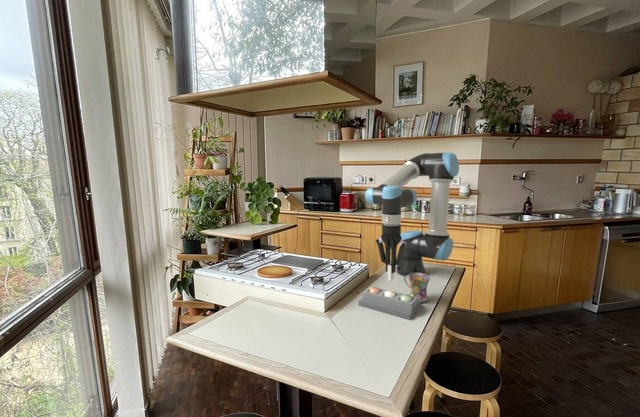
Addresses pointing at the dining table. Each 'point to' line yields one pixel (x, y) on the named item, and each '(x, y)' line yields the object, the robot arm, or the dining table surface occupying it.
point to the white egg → (390, 294)
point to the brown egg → (374, 290)
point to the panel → (390, 303)
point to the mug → (418, 285)
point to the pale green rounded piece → (406, 298)
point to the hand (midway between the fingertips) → (390, 279)
